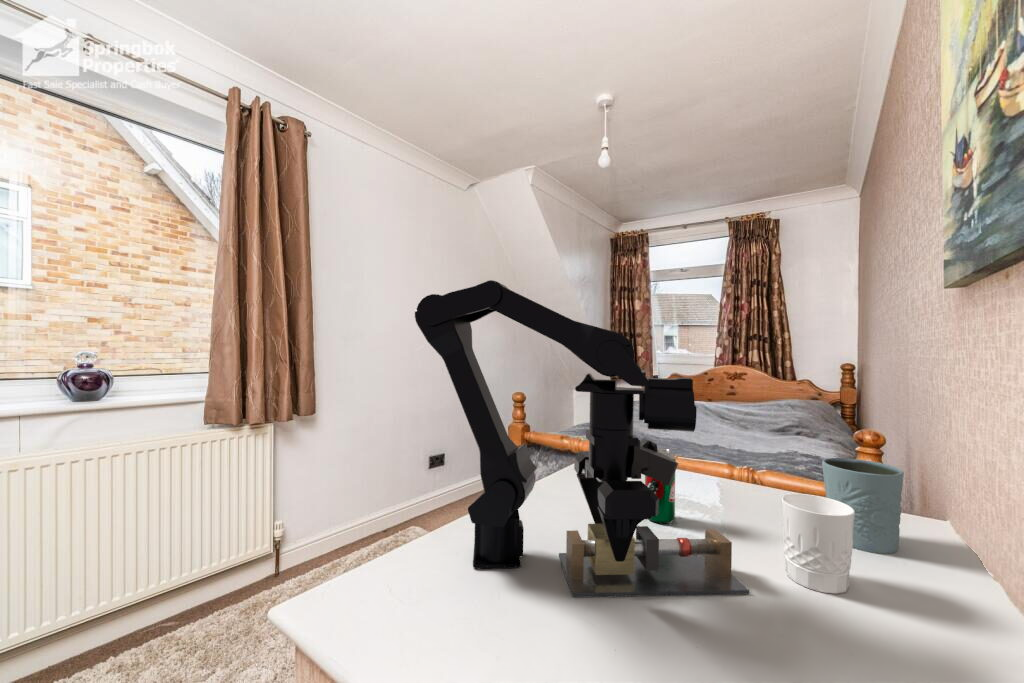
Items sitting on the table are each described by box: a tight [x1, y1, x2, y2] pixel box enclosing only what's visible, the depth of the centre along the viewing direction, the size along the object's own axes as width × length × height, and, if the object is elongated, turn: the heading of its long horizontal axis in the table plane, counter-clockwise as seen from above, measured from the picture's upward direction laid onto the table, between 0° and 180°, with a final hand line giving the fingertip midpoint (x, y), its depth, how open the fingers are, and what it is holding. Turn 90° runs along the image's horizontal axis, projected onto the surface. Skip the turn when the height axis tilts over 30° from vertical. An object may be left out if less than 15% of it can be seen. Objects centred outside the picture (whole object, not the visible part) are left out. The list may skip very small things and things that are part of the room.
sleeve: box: [587, 523, 636, 575], centre depth 57 cm, size 5×5×5 cm
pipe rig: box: [558, 528, 750, 598], centre depth 58 cm, size 22×10×5 cm, turn 93°
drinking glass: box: [821, 457, 904, 555], centre depth 69 cm, size 10×10×12 cm
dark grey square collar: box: [635, 525, 659, 571], centre depth 58 cm, size 2×4×4 cm, turn 3°
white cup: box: [781, 493, 855, 595], centre depth 57 cm, size 8×8×10 cm
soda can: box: [644, 447, 677, 525], centre depth 76 cm, size 5×5×12 cm
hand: (609, 543), depth 58 cm, fingers open, 9 cm apart
